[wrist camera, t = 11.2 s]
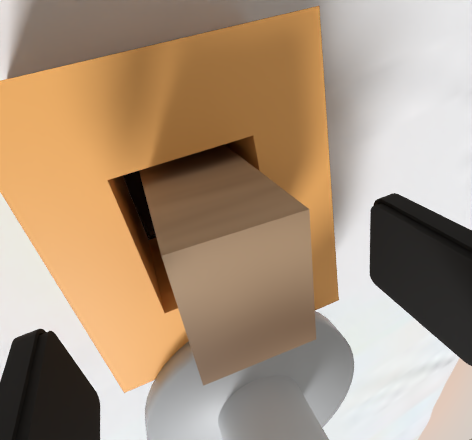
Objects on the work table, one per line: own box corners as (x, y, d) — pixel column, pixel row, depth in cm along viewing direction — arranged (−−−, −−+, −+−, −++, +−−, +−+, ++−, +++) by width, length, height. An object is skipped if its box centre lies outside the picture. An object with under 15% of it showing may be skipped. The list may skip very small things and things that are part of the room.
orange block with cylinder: (6, 79, 15) (-843, 274, 2) (247, 22, 18) (729, -93, 4) (165, 391, 27) (223, 730, 13) (297, 333, 29) (460, 572, 16)
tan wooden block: (131, 143, 18) (161, 255, 8) (202, 127, 19) (309, 209, 9) (156, 222, 21) (203, 386, 10) (217, 204, 21) (316, 339, 11)
